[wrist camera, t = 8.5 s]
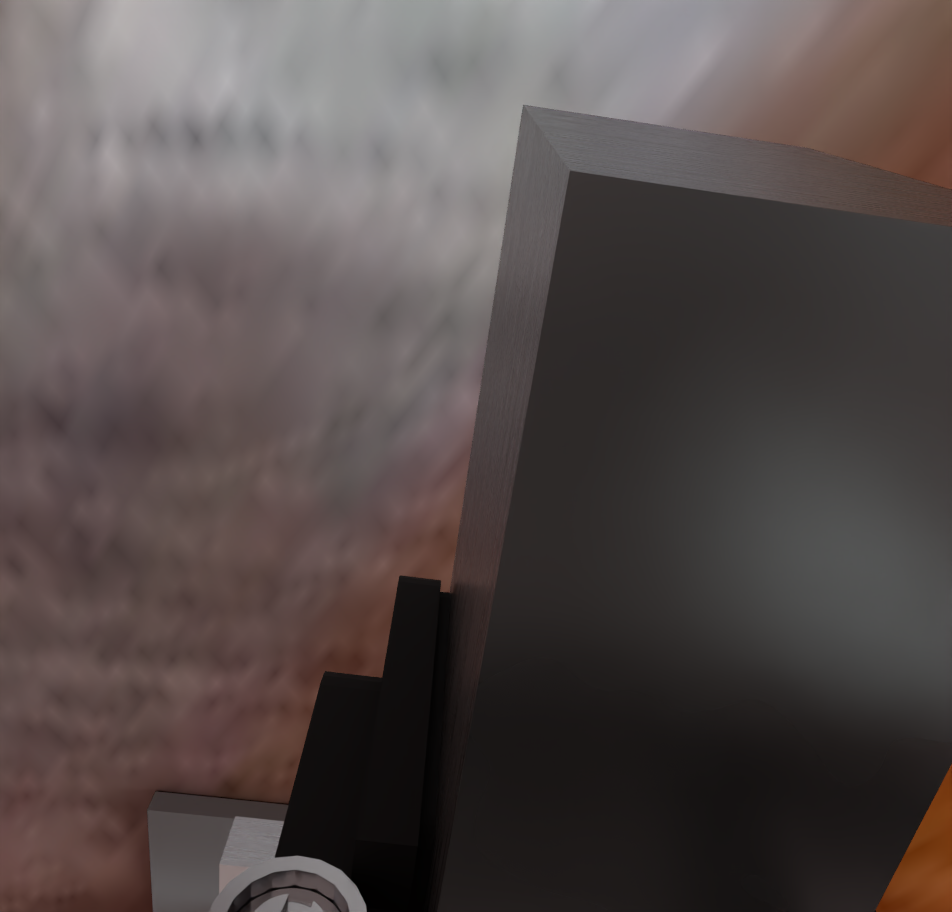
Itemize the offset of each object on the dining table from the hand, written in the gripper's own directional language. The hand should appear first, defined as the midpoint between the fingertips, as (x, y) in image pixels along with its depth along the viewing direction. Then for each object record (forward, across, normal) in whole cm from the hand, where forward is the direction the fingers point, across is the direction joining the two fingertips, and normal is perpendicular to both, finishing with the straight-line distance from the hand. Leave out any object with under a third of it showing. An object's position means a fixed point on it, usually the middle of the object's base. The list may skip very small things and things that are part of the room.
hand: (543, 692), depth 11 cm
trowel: (0, 0, +3) cm, 3 cm away
